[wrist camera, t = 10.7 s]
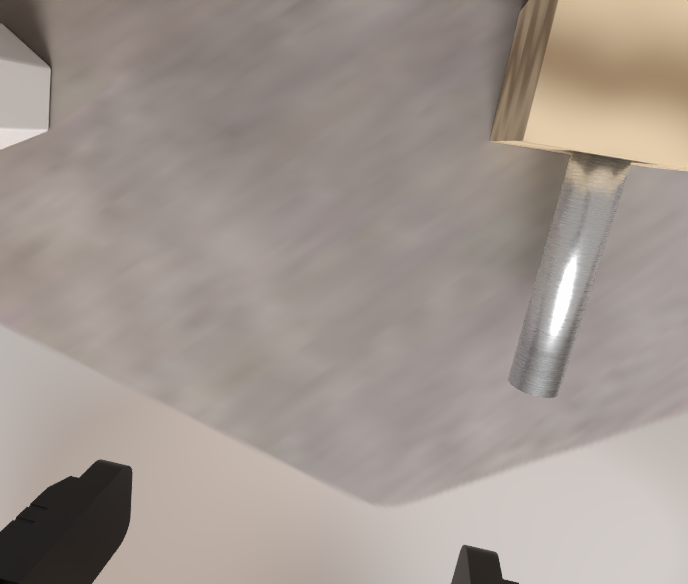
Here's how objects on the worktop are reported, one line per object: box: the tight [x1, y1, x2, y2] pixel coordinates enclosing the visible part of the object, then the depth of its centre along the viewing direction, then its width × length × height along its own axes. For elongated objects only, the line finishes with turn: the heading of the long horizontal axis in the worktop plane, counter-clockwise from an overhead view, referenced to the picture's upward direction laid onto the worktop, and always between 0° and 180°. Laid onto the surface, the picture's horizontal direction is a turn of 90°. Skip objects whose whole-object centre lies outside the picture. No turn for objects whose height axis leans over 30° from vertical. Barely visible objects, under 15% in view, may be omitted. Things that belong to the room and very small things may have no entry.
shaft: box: [508, 151, 632, 398], centre depth 29 cm, size 19×3×3 cm, turn 171°
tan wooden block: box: [490, 0, 688, 171], centre depth 28 cm, size 8×10×12 cm
